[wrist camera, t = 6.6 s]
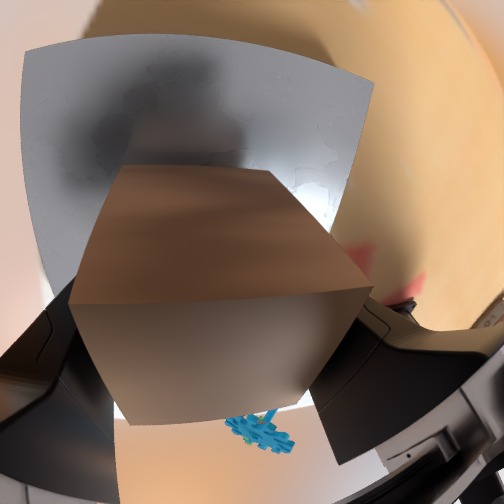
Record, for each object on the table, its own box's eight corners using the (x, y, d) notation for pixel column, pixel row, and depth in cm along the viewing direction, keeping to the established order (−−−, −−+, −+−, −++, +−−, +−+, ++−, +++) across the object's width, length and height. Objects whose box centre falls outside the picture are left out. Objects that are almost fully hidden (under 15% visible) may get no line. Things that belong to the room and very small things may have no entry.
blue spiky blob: (230, 410, 26) (303, 452, 24) (256, 374, 31) (322, 413, 28) (213, 427, 33) (270, 460, 31) (234, 399, 37) (287, 431, 35)
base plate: (342, 78, 11) (374, 82, 9) (282, 290, 19) (296, 317, 17) (50, 54, 6) (25, 51, 4) (74, 298, 14) (68, 329, 12)
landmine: (486, 306, 49) (507, 331, 41) (508, 290, 56) (525, 310, 48) (441, 361, 62) (457, 384, 55) (472, 339, 70) (486, 358, 62)
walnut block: (269, 170, 9) (373, 285, 5) (245, 280, 12) (296, 404, 7) (122, 165, 8) (67, 303, 3) (130, 284, 10) (129, 425, 6)
